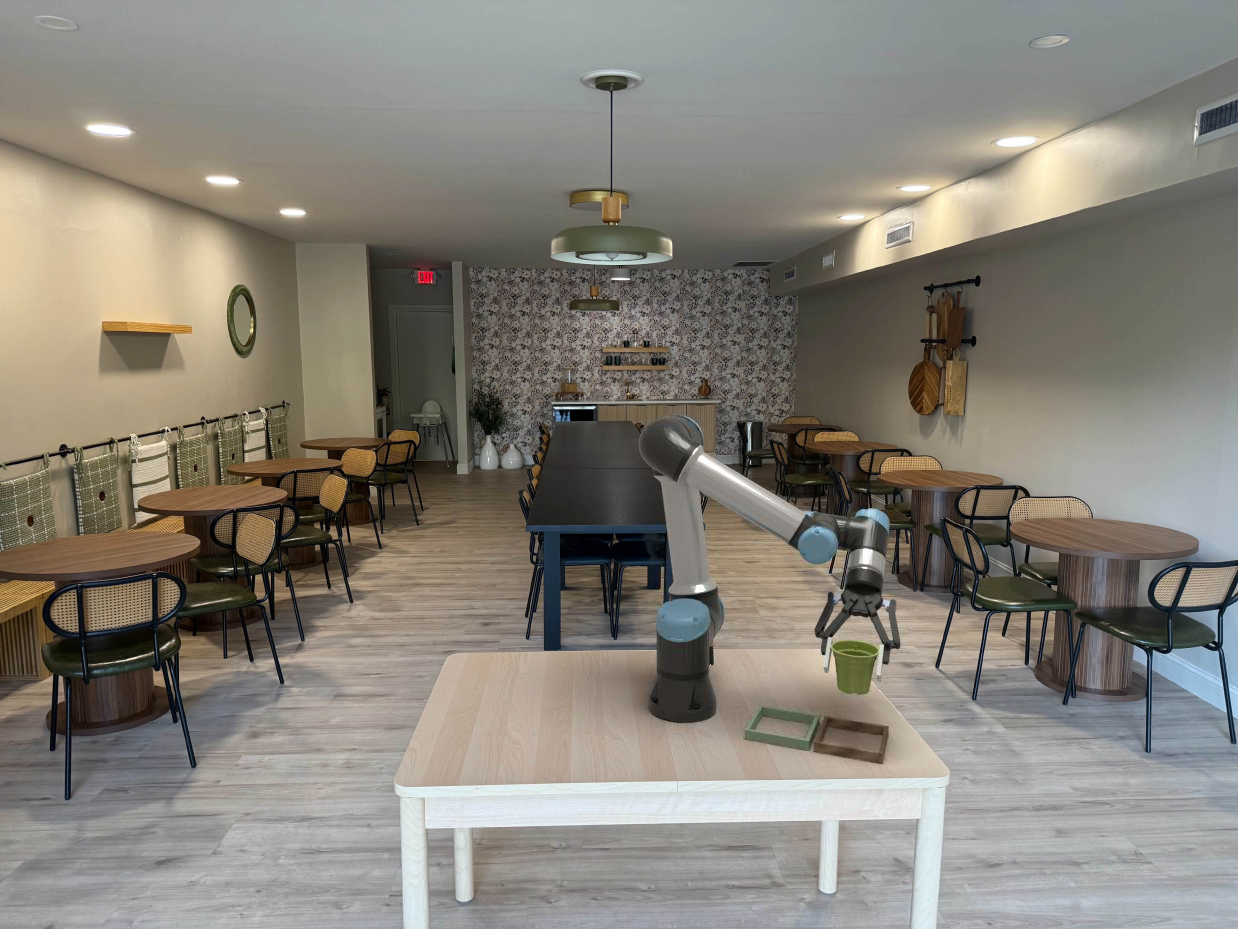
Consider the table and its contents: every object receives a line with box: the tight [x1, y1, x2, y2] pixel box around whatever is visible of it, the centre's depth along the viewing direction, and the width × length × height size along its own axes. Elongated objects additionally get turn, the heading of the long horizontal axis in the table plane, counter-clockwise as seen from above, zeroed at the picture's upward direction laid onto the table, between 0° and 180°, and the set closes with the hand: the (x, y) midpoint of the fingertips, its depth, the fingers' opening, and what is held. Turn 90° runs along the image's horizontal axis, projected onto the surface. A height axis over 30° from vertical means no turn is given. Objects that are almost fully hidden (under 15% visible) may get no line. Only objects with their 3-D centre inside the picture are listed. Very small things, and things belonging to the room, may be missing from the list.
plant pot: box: [831, 639, 880, 696], centre depth 161 cm, size 9×9×9 cm
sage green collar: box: [743, 705, 821, 751], centre depth 168 cm, size 13×13×2 cm
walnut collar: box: [813, 715, 890, 765], centre depth 163 cm, size 13×13×2 cm
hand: (852, 674), depth 158 cm, fingers closed on plant pot, 9 cm apart
